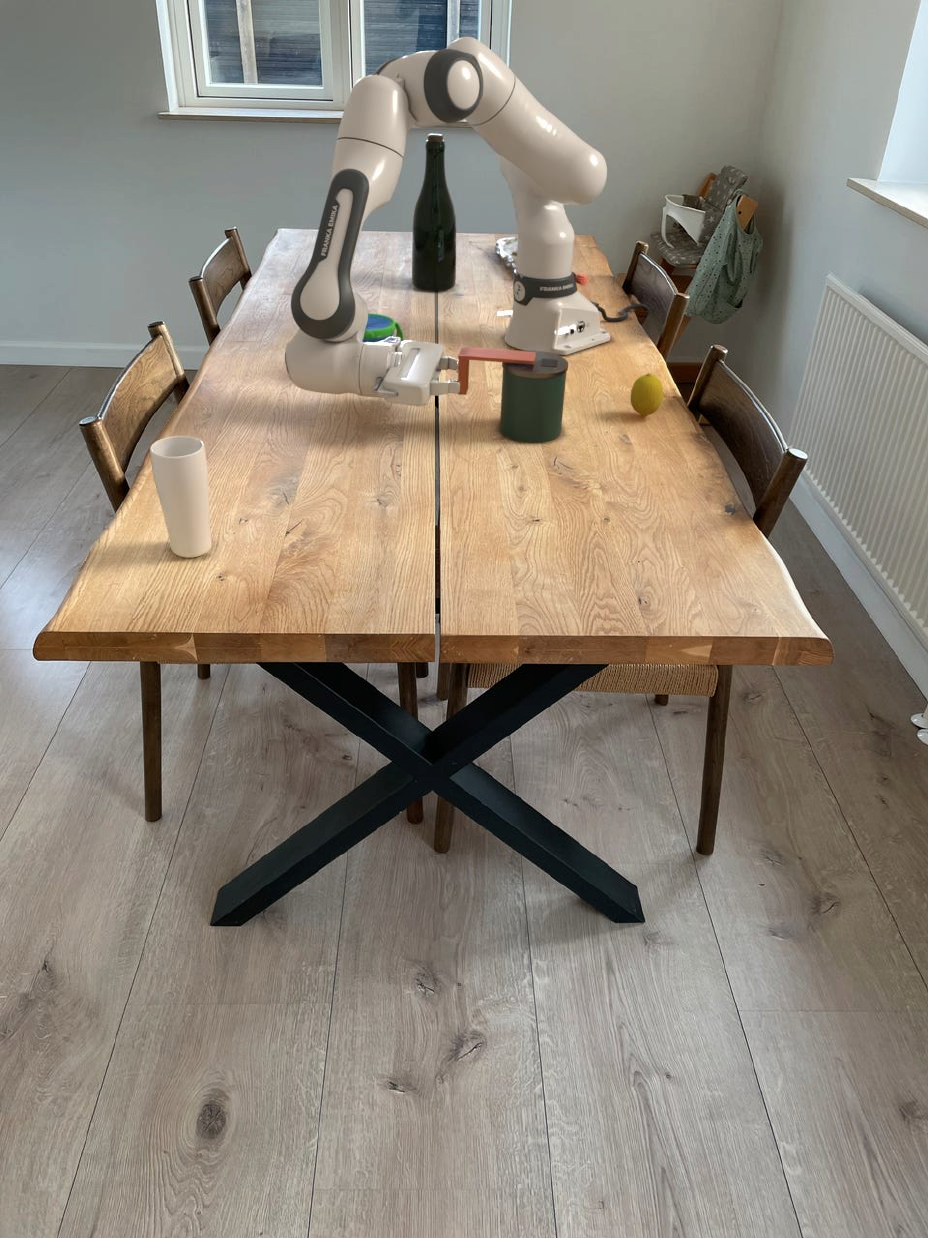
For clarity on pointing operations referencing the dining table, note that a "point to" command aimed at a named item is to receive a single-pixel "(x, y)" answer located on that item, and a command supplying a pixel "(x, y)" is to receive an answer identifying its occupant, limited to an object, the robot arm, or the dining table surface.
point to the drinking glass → (183, 493)
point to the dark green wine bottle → (434, 225)
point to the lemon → (646, 395)
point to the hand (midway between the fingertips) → (463, 376)
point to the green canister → (533, 398)
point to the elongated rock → (508, 252)
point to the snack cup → (381, 328)
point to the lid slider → (488, 355)
